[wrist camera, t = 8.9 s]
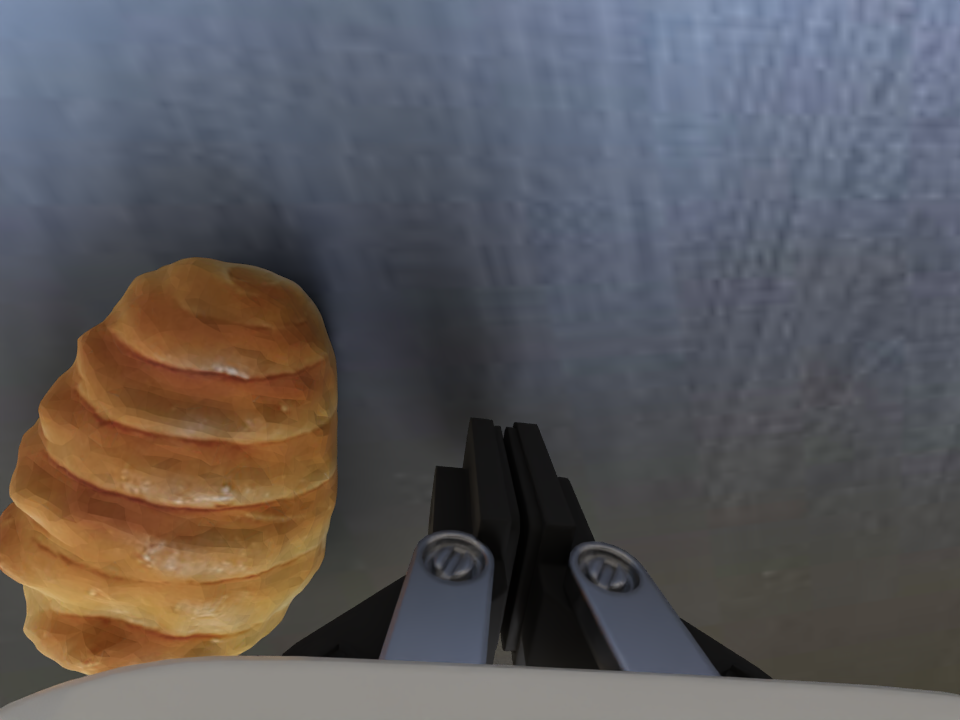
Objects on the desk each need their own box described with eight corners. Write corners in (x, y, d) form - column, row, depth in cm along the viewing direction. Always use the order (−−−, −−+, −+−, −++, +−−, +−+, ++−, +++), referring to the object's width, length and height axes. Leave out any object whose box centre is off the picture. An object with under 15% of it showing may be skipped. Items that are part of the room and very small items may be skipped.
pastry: (114, 205, 10) (-63, 210, 7) (407, 308, 12) (390, 358, 8) (66, 540, 13) (-78, 671, 9) (310, 596, 14) (263, 731, 11)
